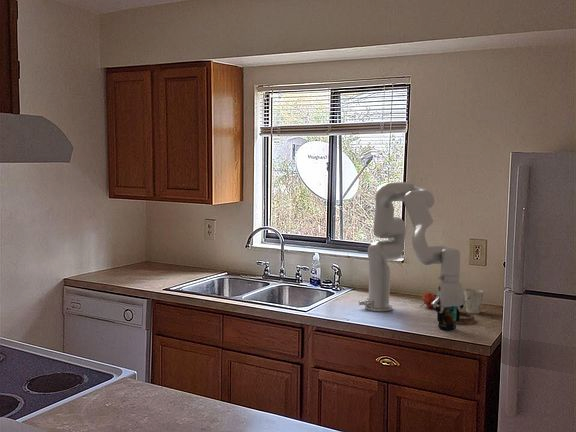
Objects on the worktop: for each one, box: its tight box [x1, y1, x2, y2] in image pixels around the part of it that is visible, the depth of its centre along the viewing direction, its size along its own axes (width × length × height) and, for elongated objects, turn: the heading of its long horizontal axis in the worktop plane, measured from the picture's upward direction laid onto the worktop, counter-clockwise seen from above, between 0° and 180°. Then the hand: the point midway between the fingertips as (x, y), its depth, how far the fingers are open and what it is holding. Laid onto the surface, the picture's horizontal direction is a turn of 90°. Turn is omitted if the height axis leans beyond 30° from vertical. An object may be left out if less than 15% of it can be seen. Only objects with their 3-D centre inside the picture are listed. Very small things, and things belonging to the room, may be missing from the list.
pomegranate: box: [419, 292, 437, 309], centre depth 299 cm, size 7×7×10 cm
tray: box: [456, 310, 476, 325], centre depth 277 cm, size 14×14×2 cm
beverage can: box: [438, 306, 457, 332], centre depth 262 cm, size 7×7×12 cm
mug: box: [463, 288, 484, 315], centre depth 292 cm, size 8×13×10 cm, turn 58°
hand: (448, 320), depth 262 cm, fingers closed on beverage can, 7 cm apart
